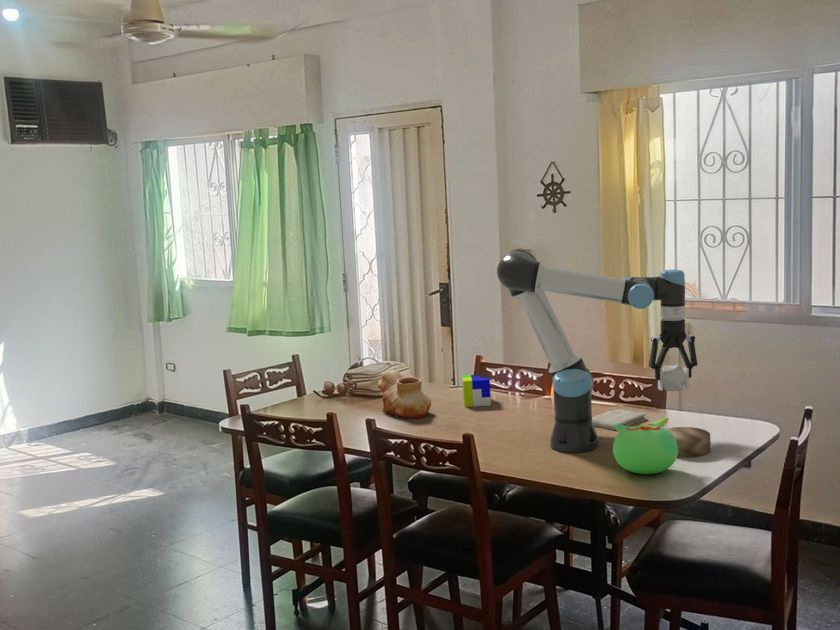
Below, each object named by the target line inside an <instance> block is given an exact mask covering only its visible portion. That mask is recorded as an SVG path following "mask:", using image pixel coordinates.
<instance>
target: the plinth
mask: <svg viewBox="0 0 840 630" xmlns="http://www.w3.org/2000/svg"><path fill="white" fill-rule="evenodd" d="M665 429H666V430H668V431H669V432H670V433H671V434H672V435H673V436H674V437H675V439H676V441H677V445H678V455H677V458H687V459H688V458H698V457H699V458H700V457H703V456H706V455H708V454H710V452H711V451H712V450H711V448H712V447H711V433H710V432H709V431H708V430H706V429H703V428H697V427H692V426H691V427H690V426H675V427H669V428H665Z"/></svg>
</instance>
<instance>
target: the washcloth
mask: <svg viewBox="0 0 840 630" xmlns="http://www.w3.org/2000/svg"><path fill="white" fill-rule="evenodd" d="M642 420H643V421H646V414H645V413H643V412H634V411H630V410H628V409H620V408H618V409H616V410H607V411H606V412H604V413H600V414H598V415H595V416H592V422H593V425H594V428H595V427H596V428H602V429H607V430H611V431H612V430H613V431H617V430H616V429H615V428H614V426H613V425H614V424H621V425H624V426H627V427H630V426H633V425H636V424H637V423H641V422H642Z"/></svg>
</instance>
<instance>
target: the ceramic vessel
mask: <svg viewBox="0 0 840 630" xmlns="http://www.w3.org/2000/svg"><path fill="white" fill-rule="evenodd" d="M377 387H378V388H379V389H380V391H381V393H382V404H383V407H382V410H381V412H382V413H385V414H389V415H392V416H394V417H397V418H398V419H416V420H417V419H423V418H426V417H427V414H428V413H429V411H430V408H431V406H432V400H431V397H430V396H428V394H427V393H426V392H425V391H423V390H422V379H420V378H419V377H414V376H405V377H403V376H402V374H401V373H400V372H399V371H398V370H397V369H392V370H386V371H384V372H383V373H382V374H381V378H380V380H379V381H378V382H377Z"/></svg>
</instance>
